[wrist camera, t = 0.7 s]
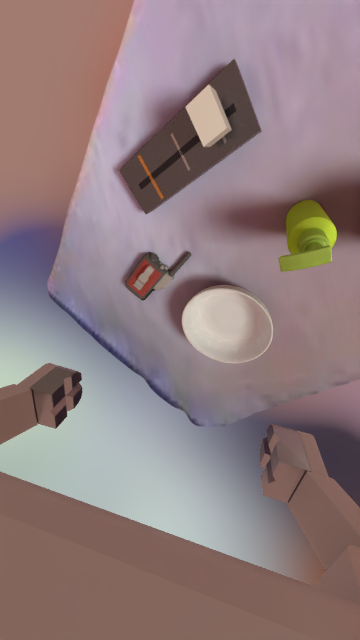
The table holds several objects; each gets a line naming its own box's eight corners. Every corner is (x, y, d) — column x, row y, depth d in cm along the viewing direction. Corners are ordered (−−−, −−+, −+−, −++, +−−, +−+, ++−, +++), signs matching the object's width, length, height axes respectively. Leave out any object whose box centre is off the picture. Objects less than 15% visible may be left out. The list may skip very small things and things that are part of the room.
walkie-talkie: (150, 302, 65) (195, 254, 53) (143, 311, 62) (189, 261, 49) (126, 281, 64) (166, 226, 51) (118, 289, 60) (158, 231, 48)
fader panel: (237, 64, 34) (234, 58, 31) (261, 131, 37) (260, 129, 34) (127, 169, 47) (119, 170, 44) (152, 211, 50) (145, 214, 47)
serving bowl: (262, 264, 49) (260, 278, 43) (281, 341, 58) (281, 360, 53) (177, 286, 59) (167, 299, 53) (205, 348, 68) (198, 365, 63)
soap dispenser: (277, 209, 42) (275, 243, 27) (321, 194, 39) (347, 223, 24) (282, 240, 45) (283, 287, 29) (324, 229, 41) (349, 275, 26)
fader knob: (219, 94, 34) (208, 84, 28) (234, 131, 35) (226, 127, 30) (198, 112, 35) (185, 107, 30) (213, 147, 37) (203, 146, 32)
